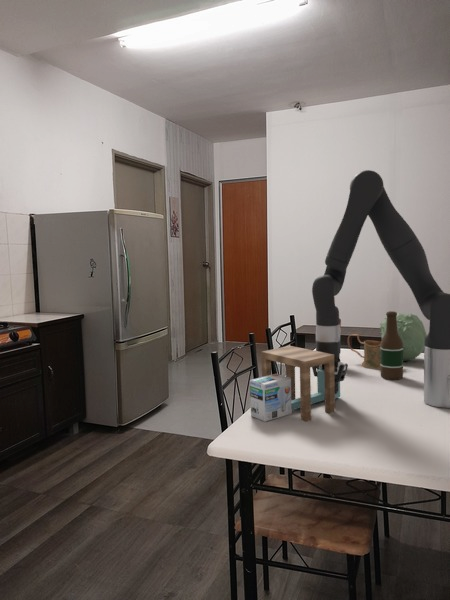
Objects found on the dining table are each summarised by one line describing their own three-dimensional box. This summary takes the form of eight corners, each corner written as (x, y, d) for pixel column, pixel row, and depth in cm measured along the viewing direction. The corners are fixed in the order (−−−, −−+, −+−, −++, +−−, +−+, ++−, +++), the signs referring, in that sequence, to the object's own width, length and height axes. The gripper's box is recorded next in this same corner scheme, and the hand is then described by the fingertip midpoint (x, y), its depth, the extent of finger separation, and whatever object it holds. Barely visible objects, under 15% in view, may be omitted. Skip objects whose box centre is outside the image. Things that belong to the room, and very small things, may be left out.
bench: (334, 411, 136) (334, 354, 135) (306, 421, 129) (305, 361, 128) (291, 397, 151) (289, 345, 149) (262, 406, 144) (261, 351, 142)
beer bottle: (379, 379, 168) (379, 313, 165) (381, 374, 175) (380, 310, 172) (402, 381, 165) (403, 313, 162) (403, 375, 172) (403, 310, 170)
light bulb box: (265, 422, 130) (264, 384, 129) (249, 416, 135) (248, 379, 134) (292, 413, 136) (291, 377, 135) (276, 407, 142) (275, 372, 141)
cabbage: (423, 366, 183) (424, 316, 181) (374, 361, 194) (374, 313, 191) (431, 358, 196) (431, 311, 194) (384, 354, 207) (384, 309, 204)
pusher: (330, 394, 152) (330, 366, 151) (340, 396, 148) (339, 369, 148) (282, 408, 139) (282, 379, 139) (292, 412, 136) (291, 382, 135)
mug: (353, 359, 199) (353, 331, 198) (395, 364, 189) (395, 334, 188) (342, 365, 190) (342, 336, 189) (386, 370, 180) (386, 339, 178)
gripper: (302, 337, 150) (304, 389, 152) (337, 343, 138) (338, 400, 140) (319, 334, 154) (320, 385, 156) (354, 340, 143) (354, 394, 145)
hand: (328, 391), depth 148 cm, fingers closed on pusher, 4 cm apart
